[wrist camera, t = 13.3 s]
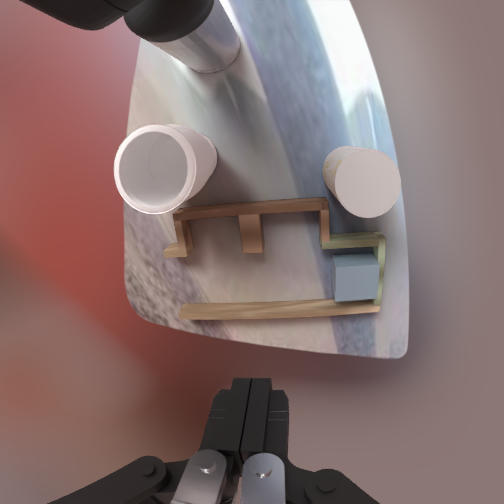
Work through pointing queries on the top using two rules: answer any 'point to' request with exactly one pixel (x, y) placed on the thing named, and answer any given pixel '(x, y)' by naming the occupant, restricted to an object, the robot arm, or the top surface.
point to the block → (355, 276)
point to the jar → (163, 166)
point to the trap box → (255, 243)
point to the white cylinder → (362, 180)
